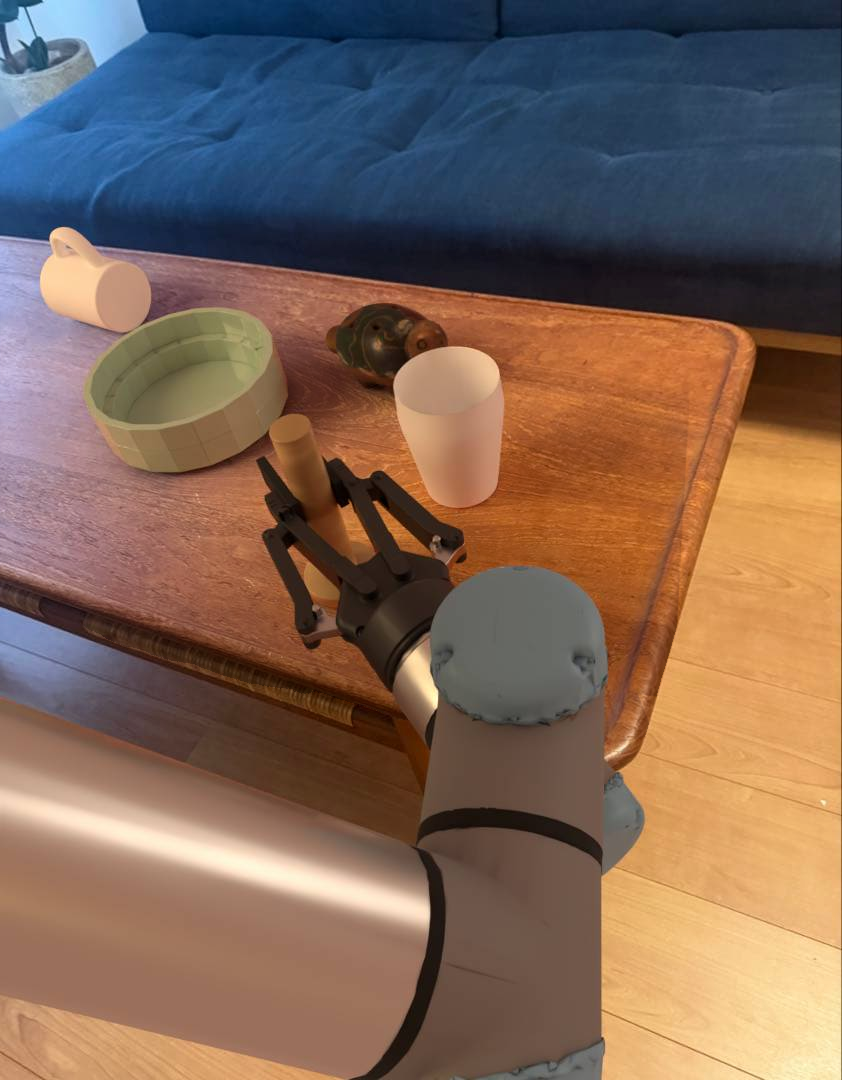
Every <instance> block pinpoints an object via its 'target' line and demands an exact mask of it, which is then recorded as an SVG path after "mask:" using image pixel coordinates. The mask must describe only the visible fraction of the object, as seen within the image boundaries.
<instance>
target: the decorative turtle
mask: <svg viewBox="0 0 842 1080" xmlns="http://www.w3.org/2000/svg"><path fill="white" fill-rule="evenodd" d="M325 345H326V346H327V347H328V349H329V350H330V352H332V353H333V354H335V355H337V356H338V358H339V360H340V362H341V363H342V364H343V366H344V367H345V369H347V370H348V371H349V372H350V374H351V375H352V376H353V377H354V379H355V381H356V382H357V383H358V384H359V385H361V386H362V387H363V388H365V389H370V388H373V387H375V386H376V385H379V386H382V387H383V388H385V390H388V392H389V393H390V394H392V395H393V396H394V397H395V395H394V388H393V384H394V379H395V377H396V375H397V373H398V371H399V370H400V369H401V368H402V367H403V365H405V364H406V363H407V362H408V361H409V360H411V359H412V358H414V357H416V356H418V355H420V354H422V353H424V352H427V351H430V350H433V349H437V348H442V347H449V340H448V336H447V333H446V332H445V331H444V329H443V327H442V326H441V325H440V324H439V323H437V322H436V321H434V320H431V319H428V318H427V317H426V316H425V315H423V314H422V313H420V312H419V311H416V310H415V309H413V308H411V307H408V306H405V305H403V304H398V303H394V302H393V303H392V302H377V303H371V304H367V305H364V306H361V307H359V308H357V309H356V310H354V311H352V312H351V313H349V314H348V315H347V316H346V317H345V318H344V319H343V320H342V322H341V323H340V324H337V325H334V326H332V327H330V328H329V329H328V330H327V332H326V334H325Z"/></svg>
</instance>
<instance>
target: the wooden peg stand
mask: <svg viewBox="0 0 842 1080" xmlns="http://www.w3.org/2000/svg"><path fill="white" fill-rule="evenodd" d="M268 435H269V438H270V440H271V443H272V445H273V448H274V451H275V453H276V456H277V458H278V461H279V463H280V466H281V469H282V471H283V474H284V477H285V479H286V482H287V485H288V488H289V490H290V491H291V492H292V494H293V496H294V497H295V498H296V499H297V500H298V502H299V503H300V506H301V509H302V511H303V514H304V516H305V519H306V522H307V524H308V526H310V527H311V528H312V529H313V530H314V531H315V532H316V533H317V534H318V535H319V536H320V537H322V538H323V539H324V540H325V541H326V542H327V543H328V544H329V545H330V546H331V547H333V548H334V549H335V550H336V551H337V552H338V553H339V554H340V555H341V556H346V557H347V558H348V559H349V560H350V561H351V562H353V563H354V564H355V565H358V564H361V563H364V562H367V561H369V560H370V559H371V558H372V557H373V556H374V555H376V552H374V551H373V550H372V548H370V547H369V546H368V545H367V544H364V543H363V542H359V541H355V540H350V536H349V534H348V531H347V528H346V524H345V522H344V519H343V516H342V512H341V510H340V509H341V508H340V506H339V505H338V503H337V500H336V497H335V494H334V491H333V488H332V485H331V482H330V479H329V476H328V473H327V470H326V467H325V464H324V461H323V458H322V456H323V454H322V452H321V450H320V445H319V443H318V440H317V438H316V437H317V436H316V435H315V431H314V427H313V425H312V422H311V420H310V418H308V416H306V415H304V414H300V413H290V414H285V415H283V416H280V417H279V418H278V419H277V420H276V421H275V422H274V423H273V424H272V425H271V427H270V429H269V430H268ZM321 454H322V455H321ZM304 567H305V568H304V570H303V581H304V583H305V585H306V587H307V589H308V591H309V593H310V596H311V598H312V600H313V601H315V602H316V603H317V604H318V605H321V606H322V607H325V608H326V607H327V608H332V609H337V607H338V602H339V596H340V592H339V590H338V589H337V587H336V586H335V585H334V584H332V583H331V582H330V581H329V580H328V579H327V578H326V577H325V576H324V575H323V574H322V573H321V572H320V571H319V570H318V569H317V568H316V567H315V566H314V565H313V564H311V563H310V562H309V561H308V560H307V563H306V565H305V566H304Z"/></svg>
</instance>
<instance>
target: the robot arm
mask: <svg viewBox="0 0 842 1080" xmlns="http://www.w3.org/2000/svg"><path fill="white" fill-rule="evenodd" d="M321 455H322V458H323V461H324V464H325V467H326V470H327V473H328V476H329V479H330V482H331V485H332V488H333V491H334V494H335V497H336V500H337V503H338V506H339V508H340V509H343V508H345V507H347V506H349V505H350V504H351V507H352V510H353V513H354V514H355V515H356V517H357V518H358V521H359V522H360V524H361V526H362V528H363V531H364V532H365V534H366V536H367V538H368V540H369V542H370V544H371V545H372V547H373V549H374V551H375V555H374V556H373V557H372V558H371V559H370V560H369V561H367V562H364V563H361V564H358V565H355V564H354V563H353V562H351V561H350V560H349V559H348V558H347V557H346V556H341V555H340V554H339V553H338V552H337V551H336V550H335V549H334V548H333V547H331V546H330V545H329V544H328V543H327V542H326V541H325V540H324V539H323V538H322V537H320V536H319V535H318V534H317V533H316V532H315V531H314V530H313V529H312V528H311V527H310V526H308V524H307V522H306V519H305V516H304V514H303V511H302V509H301V506H300V503H299V502H298V500H297V499H296V498H295V497H294V496H293V494H292V492H291V489H290V487H289V486H288V485H287V484H286V483H285V481H284V480H283V478H282V477H281V476H280V475H279V473H278V472H277V471H276V469H275V468H274V466H272V464H271V462H270V461H269V460H268V458H267V457H266V456H265V455H262V456H260V457H258V458H256V459H255V462H256V465H257V467H258V469H259V471H260V474H261V476H262V479H263V481H264V483H265V485H266V486H267V488H268V490H269V491H270V492H268V493H266V494H264V503H265V505H266V507H267V509H268V512H269V514H270V515H271V517H272V518H273V519H274V521H275V522H276V526H275V527H269V528H267V529H265V530H264V531H263V532H262V533H261V539H262V541H263V543H264V545H265V547H266V550H267V551H268V554H269V556H270V559H271V561H272V562H273V566H274V567H275V569H276V571H277V573H278V576H279V577H280V580H281V581H282V583H283V585H284V587H285V589H286V591H287V593H288V595H289V597H290V599H291V601H292V604H293V605H294V626H295V628H296V630H297V633H298V635H299V637H300V639H301V641H302V643H303V646H304V648H306V649H307V650H315V649H317V648H319V647H320V645H321V644H322V640H325V639H331V638H332V639H333V638H336V637H337V638H338V637H341V639H342V640H343V641H345V642H346V643H348V644H351V645H353V646H355V647H356V648H357V649H358V650H359V652H361V654H362V655H363V657H364V658H365V660H366V661H367V662H368V664H369V665H370V667H371V668H372V670H373V671H374V672H375V675H377V677H378V678H379V680H380V681H381V683H382V684H383V686H384V687H385V688H386V690H387V691H388V692H390V693H391V694H392V696H393V698H394V702H395V703H396V704H397V706H398V707H399V709H400V710H401V711H402V713H403V714H404V716H405V717H406V719H407V721H408V722H409V723H410V725H411V726H412V727H413V728H414V730H415V732H417V734H418V735H419V737H420V738H421V740H422V741H423V742H424V744H425V745H426V747H427V749H428V750H429V751H430V752H429V753H430V754H429V761H428V766H427V773H426V779H425V785H424V794H423V798H422V799H423V800H422V806H421V812H420V818H419V819H420V820H419V825H418V830H417V837H416V841H415V846H413V845H411V844H407V843H406V842H405V841H403V840H400V839H397V838H394V837H392V836H388V835H386V834H383V833H380V832H378V831H375V830H372V829H370V828H367V827H365V826H364V827H363V826H362V825H358V824H355V823H353V822H350V821H347V820H344V819H342V818H339V817H336V816H333V815H330V814H328V813H325V812H322V811H319V810H316V809H314V808H311V807H308V806H306V805H302V804H300V803H297V802H294V801H292V800H289V799H286V798H283V797H280V796H278V795H274V794H271V793H269V792H266V791H264V790H260V789H258V788H255V787H253V786H249V785H247V784H244V783H241V782H239V781H235V780H233V779H230V778H228V777H224V776H222V775H220V774H216V773H214V772H211V771H208V770H206V769H202V768H199V767H197V766H194V765H192V764H189V763H186V762H184V761H180V760H177V759H174V758H172V757H169V756H166V755H163V754H162V753H158V752H155V751H153V750H150V749H147V748H144V747H142V746H139V745H137V744H133V743H130V742H127V741H125V740H122V739H119V738H117V737H114V736H110V735H108V734H106V733H103V732H100V731H97V730H94V729H91V728H89V727H86V726H83V725H80V724H77V723H75V722H72V721H69V720H67V719H63V718H61V717H58V716H55V715H53V714H49V713H47V712H45V711H42V710H38V709H35V708H33V707H31V706H27V705H24V704H22V703H19V702H16V701H13V700H11V699H8V698H5V697H3V696H0V996H2V997H7V998H11V999H15V1000H19V1001H23V1002H26V1003H31V1004H35V1005H39V1006H42V1007H48V1008H52V1009H55V1010H59V1011H64V1012H67V1013H72V1014H76V1015H80V1016H84V1017H87V1018H92V1019H97V1020H101V1021H104V1022H109V1023H112V1024H117V1025H121V1026H125V1027H128V1028H129V1027H130V1028H133V1029H137V1030H140V1031H145V1032H150V1033H153V1034H158V1035H162V1036H166V1037H170V1038H173V1039H178V1040H182V1041H186V1042H190V1043H194V1044H199V1045H202V1046H205V1047H211V1048H214V1049H219V1050H224V1051H226V1052H231V1053H235V1054H240V1055H243V1056H248V1057H251V1058H254V1059H255V1058H256V1059H259V1060H262V1061H263V1060H264V1061H268V1062H273V1063H275V1064H279V1065H285V1066H288V1067H293V1068H297V1069H301V1070H305V1071H309V1072H313V1073H316V1074H321V1075H325V1076H329V1077H334V1078H337V1079H341V1080H602V1077H603V1066H604V1065H603V1064H604V1057H605V1054H606V1041H605V1037H604V1036H602V1035H603V1034H602V1033H603V1032H602V1031H603V1030H602V1025H603V1023H602V1022H603V1020H602V1017H603V1016H602V1015H603V1014H602V1013H603V1011H602V1008H603V1006H602V1005H603V1004H602V1002H603V1001H602V995H603V994H602V990H603V989H602V988H603V987H602V986H603V985H602V982H603V981H602V975H603V974H602V968H603V967H602V963H603V962H602V959H603V958H602V957H603V955H602V877H604V875H606V874H607V873H609V872H610V871H611V870H612V869H613V868H614V867H616V865H617V864H619V863H620V861H622V859H623V858H624V857H625V856H627V854H628V853H629V852H630V851H631V849H632V848H633V847H634V846H635V845H636V843H637V842H638V840H639V839H640V837H641V835H642V833H643V830H644V827H645V821H646V816H645V810H644V808H643V805H642V804H641V803H640V802H639V800H638V799H637V798H636V796H635V794H633V792H632V791H631V790H630V788H629V787H628V785H627V784H626V783H625V779H624V775H623V774H622V773H621V772H620V771H616V770H615V769H614V768H613V767H612V766H611V765H610V764H609V763H608V762H607V760H606V759H605V733H606V731H605V730H606V728H605V723H606V721H605V719H606V718H605V717H606V716H605V714H606V685H607V683H608V680H609V668H608V666H609V665H608V663H609V659H610V653H609V651H608V648H607V646H606V633H605V627H604V622H603V618H602V615H601V613H600V611H599V610H598V607H597V605H596V604H595V602H594V601H593V599H592V598H591V597H590V595H589V594H588V593H587V592H586V591H585V590H584V589H583V588H582V587H580V586H579V585H578V584H577V583H576V582H574V581H573V580H572V579H570V578H568V577H567V576H565V575H563V574H561V573H559V572H556V571H554V570H551V569H548V568H545V567H541V566H534V565H531V566H529V565H528V566H527V565H522V564H520V565H514V566H513V565H502V566H501V565H500V566H496V567H492V568H488V569H486V570H482V571H479V572H477V573H475V574H473V575H472V576H469V577H468V578H466V579H465V580H463V581H462V582H460V583H459V584H457V585H455V584H454V583H453V582H452V581H451V577H450V570H452V568H453V567H454V565H455V564H462V563H464V562H465V561H467V558H468V552H467V546H466V541H465V535H464V532H463V530H462V529H460V528H458V527H456V526H453V525H451V524H448V523H446V522H443V521H440V520H439V519H438V518H437V517H436V516H434V514H432V513H431V512H430V511H429V510H428V509H427V508H426V507H424V506H423V505H422V504H421V503H420V502H419V501H417V500H416V499H415V498H414V497H413V496H412V495H411V494H410V493H408V491H407V490H405V489H404V488H403V487H402V486H400V484H399V483H397V482H396V481H395V480H394V479H393V478H392V477H391V476H389V475H388V474H387V472H386V471H383V470H380V469H379V470H375V471H373V472H371V473H370V476H368V477H366V478H365V477H364V478H360V477H358V476H356V474H354V473H353V472H352V470H351V469H350V468H349V467H348V466H347V464H346V463H345V462H344V461H343V459H341V458H339V457H333V459H331V460H329V461H328V460H327V459H326V457H324V456H323V454H322V453H321ZM374 502H376V503H378V504H379V506H381V507H382V508H383V509H384V510H385V511H386V512H387V513H389V514H390V515H391V516H392V517H393V519H394V520H396V521H397V523H399V524H400V525H401V526H402V527H403V528H404V529H405V530H406V531H408V532H409V533H410V534H411V535H412V536H413V537H414V538H415V539H416V540H417V541H418V542H419V543H420V544H422V545H423V546H424V547H425V548H426V549H427V550H428V551H429V552H430V555H431V556H426V555H422V554H418V553H414V552H409V551H405V550H401V548H400V547H399V544H398V543H397V540H396V539H395V537H394V535H393V534H392V532H390V531H389V529H388V527H387V525H386V523H385V522H384V520H383V517H382V515H381V514H380V512H379V510H378V508H377V507H376V505H375V503H374ZM291 547H294V548H295V549H296V551H298V552H299V553H300V554H301V555H302V556H303V557H304V558H305V559H306V560H307V562H308V561H309V562H310V563H311V564H313V565H314V566H315V567H316V568H317V569H318V570H319V571H320V572H321V573H322V574H323V575H324V576H325V577H326V578H327V579H328V580H329V581H330V582H331V583H332V584H334V585H335V586H336V587H337V589H338V590H339V592H340V596H339V602H338V607H337V608H336V613H335V616H332V615H329V613H328V612H327V609H326V607H324V606H320V604H319V603H314V599H313V598H312V597H311V595H310V593H309V591H308V589H307V587H306V584H305V582H304V578H303V577H302V575H301V573H300V572H299V570H298V567H297V566H296V564H295V562H294V560H293V557H292V556H291V554H290V552H289V551H288V550H289V549H290V548H291Z"/></svg>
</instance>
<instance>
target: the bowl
mask: <svg viewBox="0 0 842 1080" xmlns="http://www.w3.org/2000/svg"><path fill="white" fill-rule="evenodd" d="M287 379H288V377H287V375H286V372H285V369H284V367H283V364H282V361H281V357H280V355H279V351H278V349H277V346H276V342H275V340H274V337H273V334H272V333H271V332H270V330H269V329H268V327H267V325H266V324H265V323H264V322H263V321H262V320H261V319H260V318H258V317H256V316H254V315H252V314H250V313H249V312H247V311H245V310H240V309H234V308H229V307H222V306H217V307H215V306H214V307H213V306H212V307H196V308H191V309H190V308H189V309H186V310H182V311H177V312H173V313H168V314H166V315H163V316H161V317H158V318H156V319H154V320H150V321H148V322H146V323H142V324H140V325H139V326H138V327H137V328H136V329H134V330H132V331H129V332H127V333H125V335H123V336H121V337H120V338H118V339H117V340H115V341H114V342H113V343H112V344H111V345H110V346H108V348H106V349H105V350H104V351H103V352H102V353H101V354H100V355H99V356H98V357H97V358H96V360H95V361H94V363H93V365H92V366H91V368H90V369H89V371H88V373H87V374H86V376H85V381H84V386H83V390H82V391H83V392H82V397H83V400H84V403H85V405H86V408H87V410H88V413H89V414H90V416H91V418H92V419H93V421H94V422H95V424H96V426H97V427H98V429H99V431H100V433H101V434H102V436H103V439H104V440H105V441H106V443H107V444H108V446H109V448H110V449H111V451H112V453H113V454H114V455H115V456H116V457H118V458H119V459H120V460H122V461H123V462H124V463H125V464H127V465H128V466H130V467H134V468H138V469H140V470H143V471H147V472H150V473H184V472H188V471H193V470H197V469H201V468H206V467H211V466H213V465H216V464H217V463H220V462H222V461H224V460H227V459H228V458H231V457H234V456H235V455H238V454H240V453H241V452H243V451H244V450H246V449H247V448H249V447H250V446H251V445H252V444H254V443H256V441H258V440H260V439H261V438H263V437H264V436H265V435H266V434H267V432H269V430H270V427H271V425H272V424H273V423H274V422H275V421H276V420H277V419H279V418H281V415H282V412H283V410H284V408H285V405H286V402H287V400H288V398H289V390H288V389H289V388H288V380H287Z"/></svg>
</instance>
